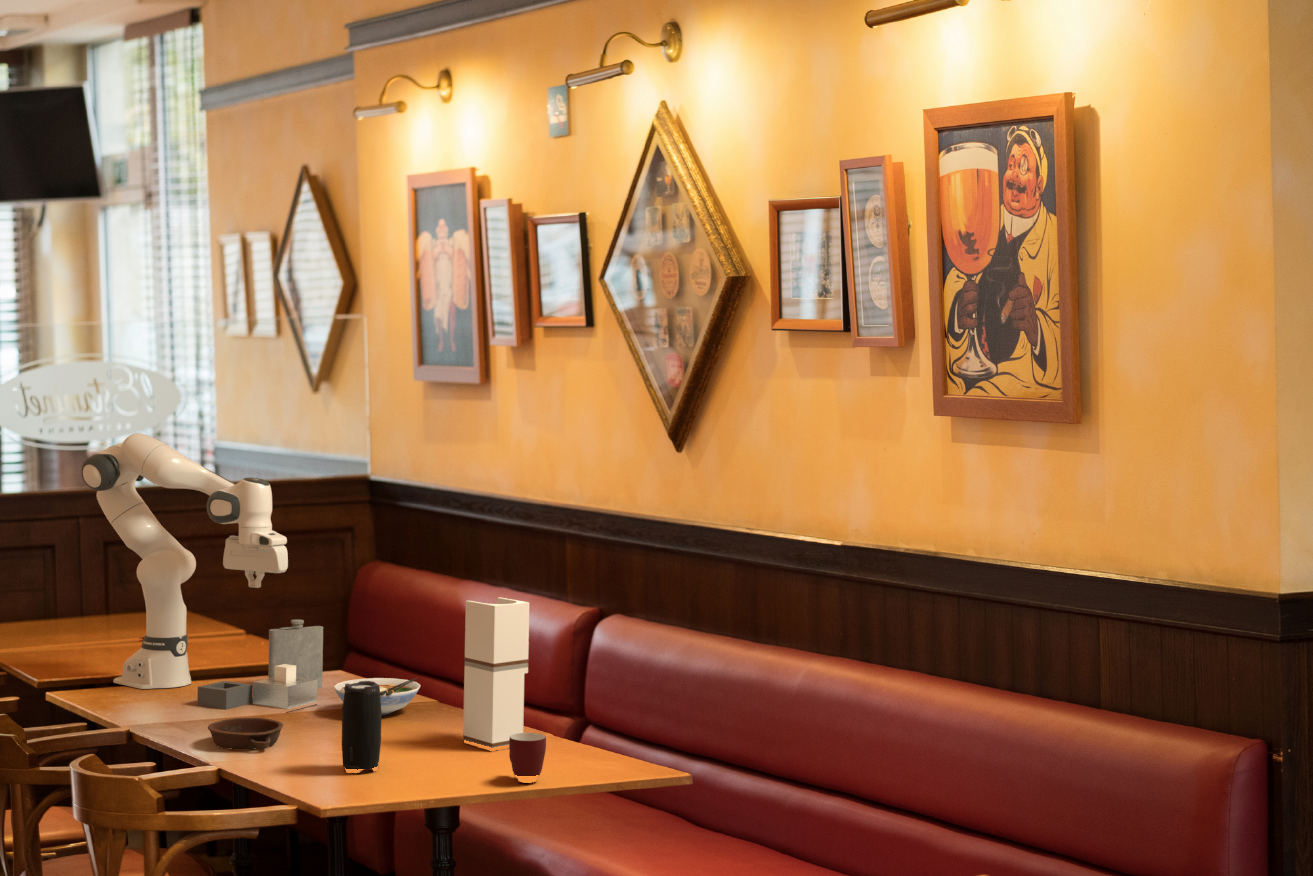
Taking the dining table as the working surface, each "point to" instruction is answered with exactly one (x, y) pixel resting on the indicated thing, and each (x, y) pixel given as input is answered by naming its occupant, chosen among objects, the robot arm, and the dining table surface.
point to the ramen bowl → (387, 692)
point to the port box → (285, 693)
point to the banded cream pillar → (495, 670)
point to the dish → (245, 733)
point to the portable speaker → (361, 725)
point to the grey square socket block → (224, 695)
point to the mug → (527, 753)
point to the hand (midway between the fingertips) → (254, 587)
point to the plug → (285, 673)
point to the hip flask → (297, 650)
